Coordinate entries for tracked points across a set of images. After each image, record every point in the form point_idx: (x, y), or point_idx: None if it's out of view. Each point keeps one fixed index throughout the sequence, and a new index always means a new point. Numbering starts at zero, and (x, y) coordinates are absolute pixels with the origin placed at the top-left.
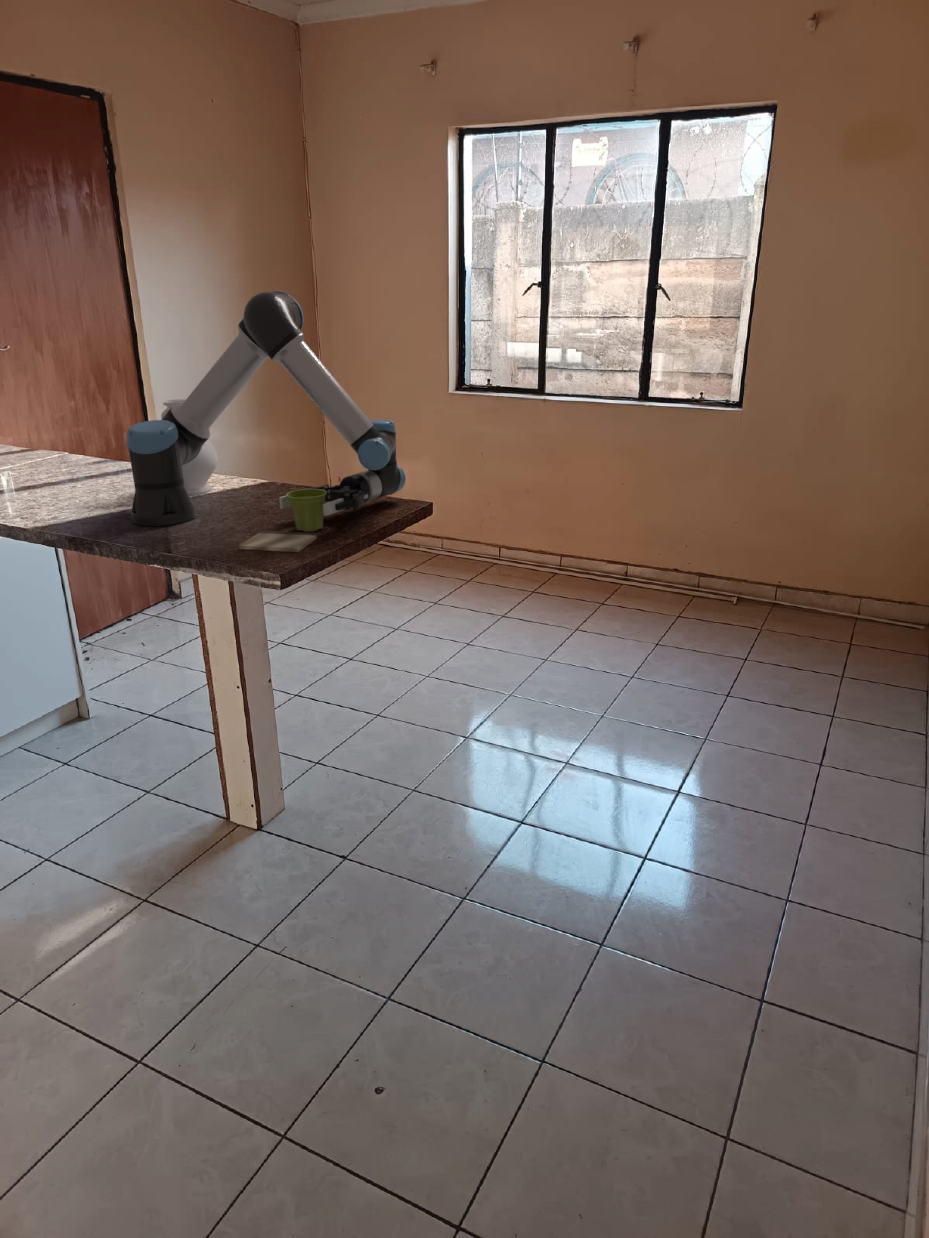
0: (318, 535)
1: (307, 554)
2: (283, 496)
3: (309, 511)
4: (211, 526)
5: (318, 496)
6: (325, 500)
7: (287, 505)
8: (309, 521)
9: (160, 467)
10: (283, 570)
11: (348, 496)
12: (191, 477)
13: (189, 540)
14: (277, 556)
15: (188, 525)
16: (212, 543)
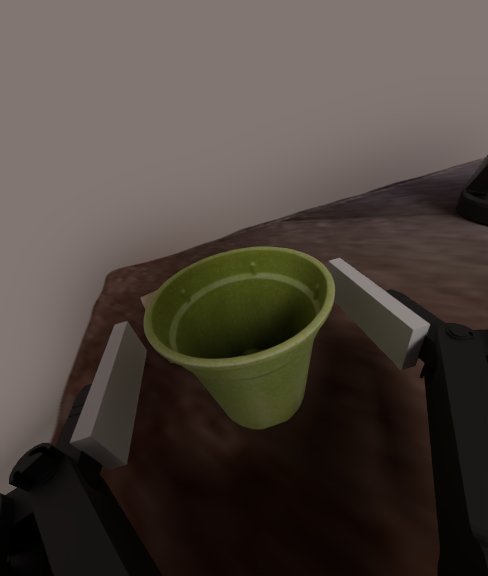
0: (168, 360)
1: (121, 308)
2: (346, 267)
3: (200, 322)
4: (424, 247)
5: (150, 303)
6: (439, 563)
7: (342, 303)
8: (216, 346)
9: None
10: (115, 275)
11: (19, 463)
12: None
13: (332, 229)
14: (160, 281)
15: (451, 228)
16: (293, 243)
